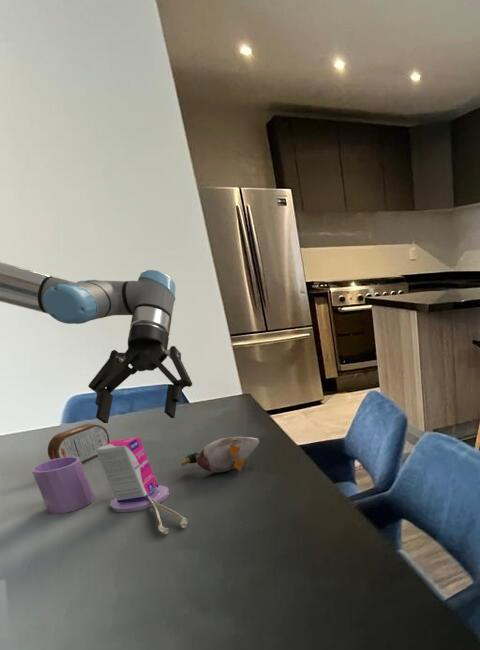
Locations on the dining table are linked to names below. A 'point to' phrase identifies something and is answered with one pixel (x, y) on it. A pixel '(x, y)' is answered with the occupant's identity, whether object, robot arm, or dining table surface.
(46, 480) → the lilac cup
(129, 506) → the saucer
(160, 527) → the beige thin v-shaped piece
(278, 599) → the dining table surface
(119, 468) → the supplement box
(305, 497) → the dining table surface
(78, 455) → the tin
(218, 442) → the decorative duck model
